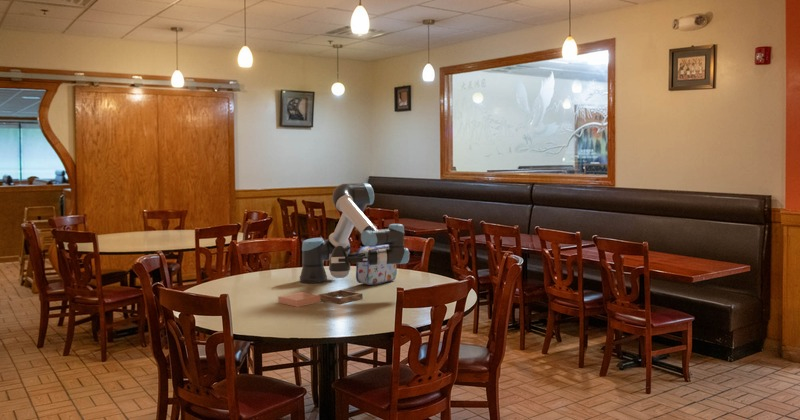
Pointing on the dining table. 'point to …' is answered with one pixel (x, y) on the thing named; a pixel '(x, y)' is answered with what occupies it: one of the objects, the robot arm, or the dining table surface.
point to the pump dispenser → (339, 268)
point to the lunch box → (374, 269)
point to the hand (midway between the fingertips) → (330, 258)
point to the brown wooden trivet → (332, 295)
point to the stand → (299, 299)
